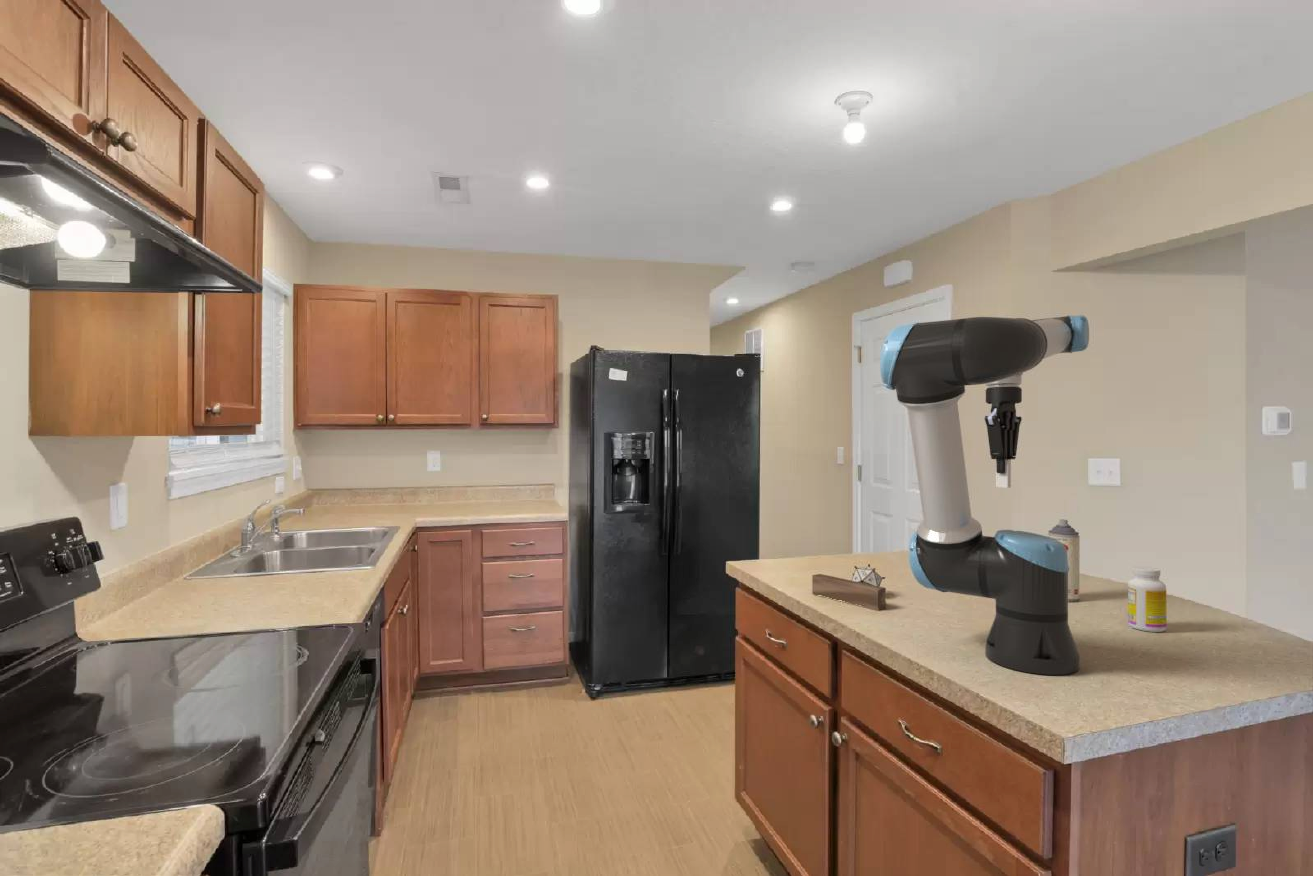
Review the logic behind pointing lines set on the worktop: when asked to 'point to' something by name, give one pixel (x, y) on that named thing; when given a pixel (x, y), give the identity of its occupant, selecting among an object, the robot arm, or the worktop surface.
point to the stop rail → (849, 591)
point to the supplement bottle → (1147, 600)
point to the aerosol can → (1069, 555)
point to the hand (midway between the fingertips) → (1003, 487)
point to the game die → (867, 576)
